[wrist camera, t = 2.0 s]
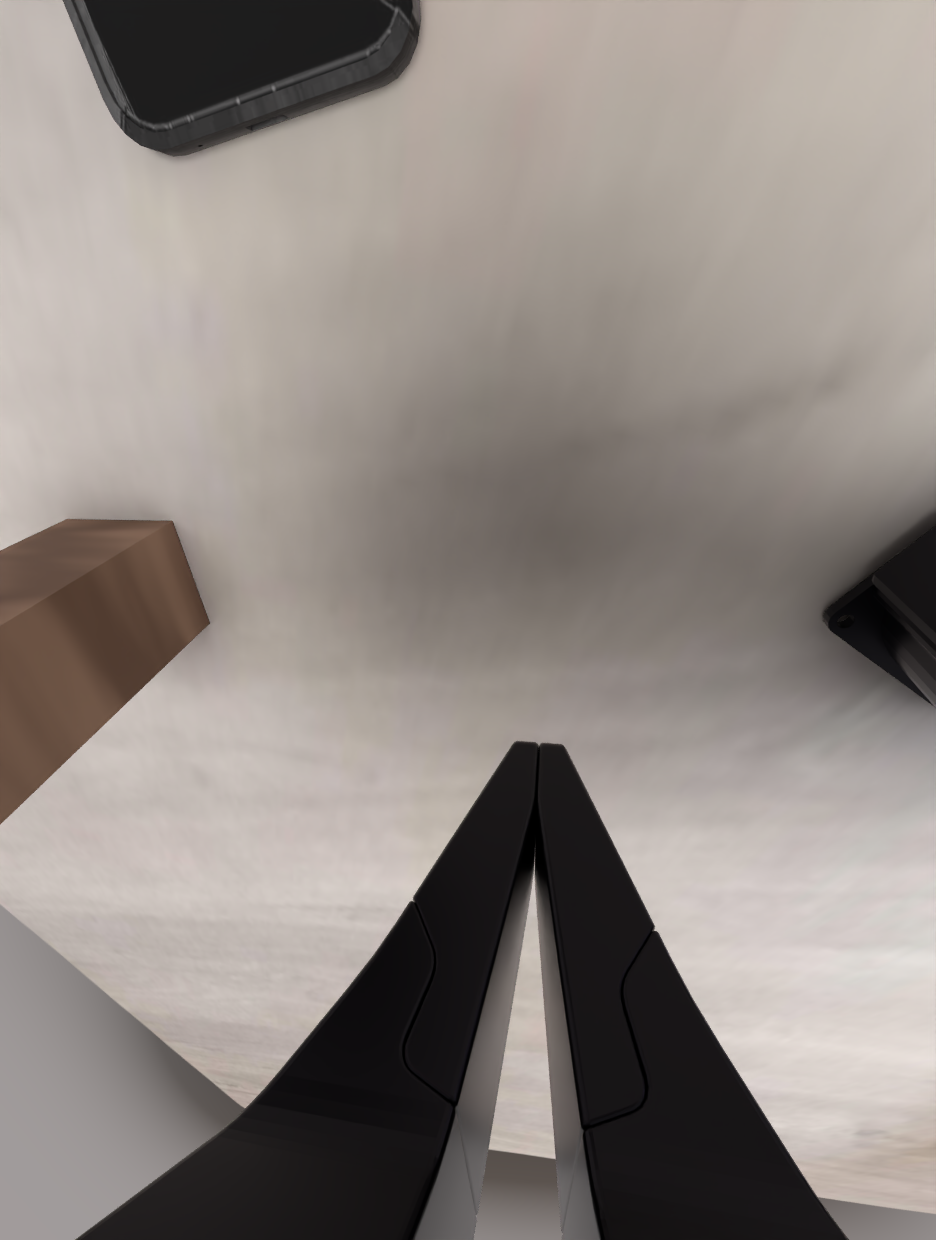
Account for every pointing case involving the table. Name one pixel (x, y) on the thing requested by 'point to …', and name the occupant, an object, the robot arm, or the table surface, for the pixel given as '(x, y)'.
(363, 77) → the phone
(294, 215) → the table surface
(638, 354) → the table surface
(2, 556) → the walnut block
